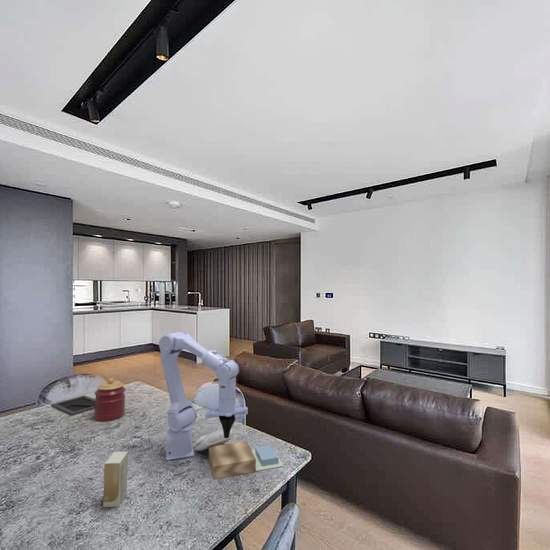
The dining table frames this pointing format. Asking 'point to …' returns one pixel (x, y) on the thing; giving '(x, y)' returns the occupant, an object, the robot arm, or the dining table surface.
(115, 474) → the skincare box
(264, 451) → the blue box
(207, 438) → the photo printer
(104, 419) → the canister
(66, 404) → the picture frame
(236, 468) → the light brown flat block
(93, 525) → the dining table surface
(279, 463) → the mat
